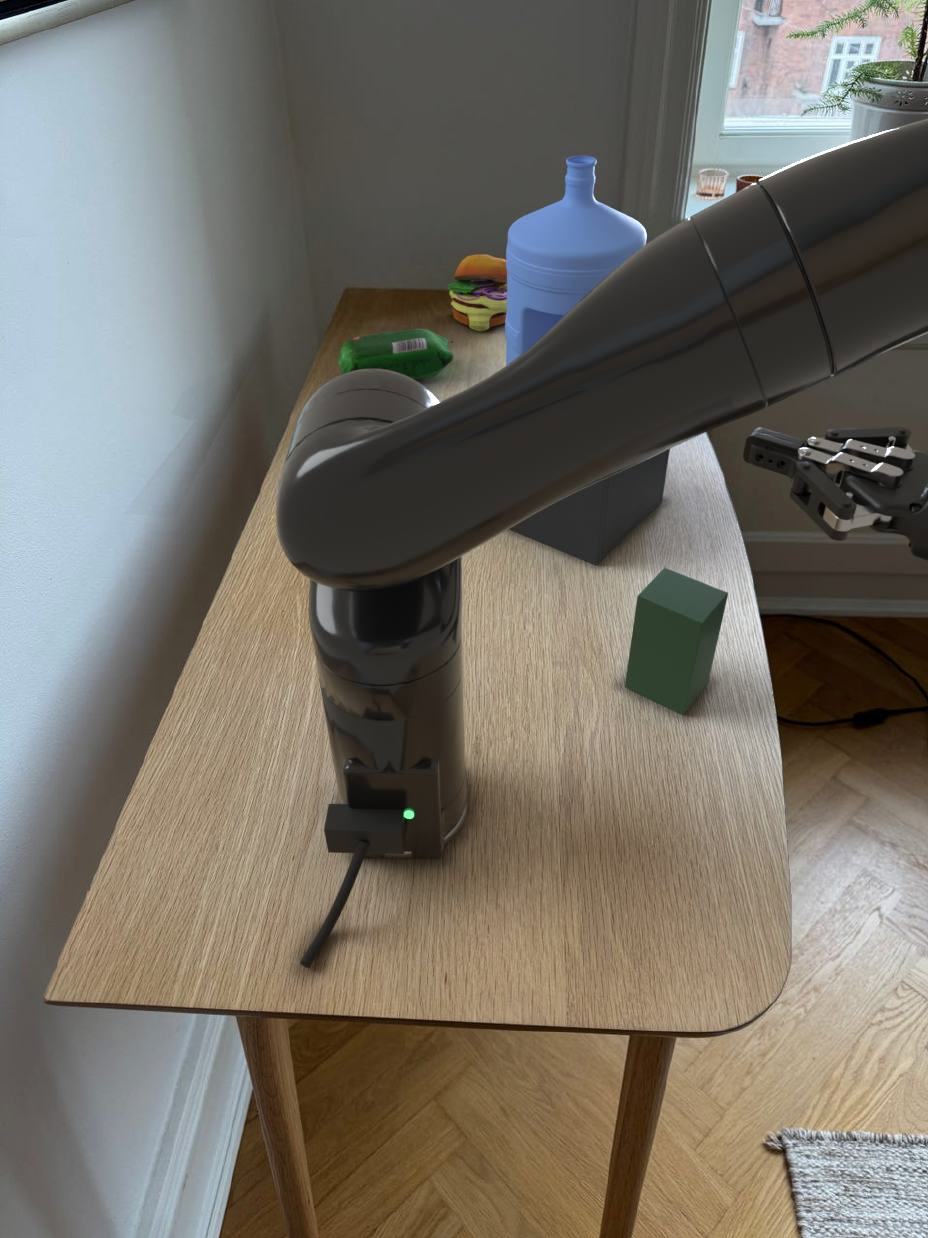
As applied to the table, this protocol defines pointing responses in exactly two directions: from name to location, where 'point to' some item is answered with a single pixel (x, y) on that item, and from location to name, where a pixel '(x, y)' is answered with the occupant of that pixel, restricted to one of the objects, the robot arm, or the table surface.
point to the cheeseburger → (480, 292)
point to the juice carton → (674, 639)
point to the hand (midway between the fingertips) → (748, 443)
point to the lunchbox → (600, 512)
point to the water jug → (562, 256)
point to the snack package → (397, 353)
